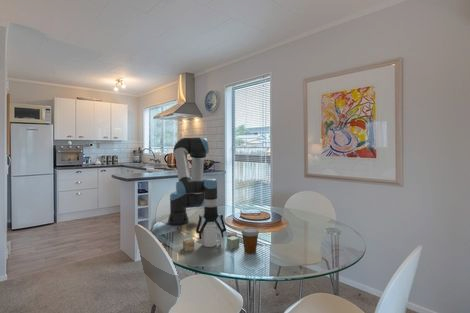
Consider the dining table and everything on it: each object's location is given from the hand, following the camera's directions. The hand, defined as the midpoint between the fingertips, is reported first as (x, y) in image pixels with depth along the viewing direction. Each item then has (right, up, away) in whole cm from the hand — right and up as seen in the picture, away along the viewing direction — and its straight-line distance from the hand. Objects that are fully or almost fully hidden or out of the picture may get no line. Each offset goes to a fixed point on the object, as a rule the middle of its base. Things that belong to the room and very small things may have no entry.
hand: (211, 243), depth 156 cm
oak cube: (-12, -1, -5) cm, 13 cm away
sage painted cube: (+13, -1, -2) cm, 13 cm away
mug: (+1, -1, 0) cm, 1 cm away
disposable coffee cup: (+22, -1, -9) cm, 24 cm away
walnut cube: (+12, -1, +5) cm, 13 cm away
